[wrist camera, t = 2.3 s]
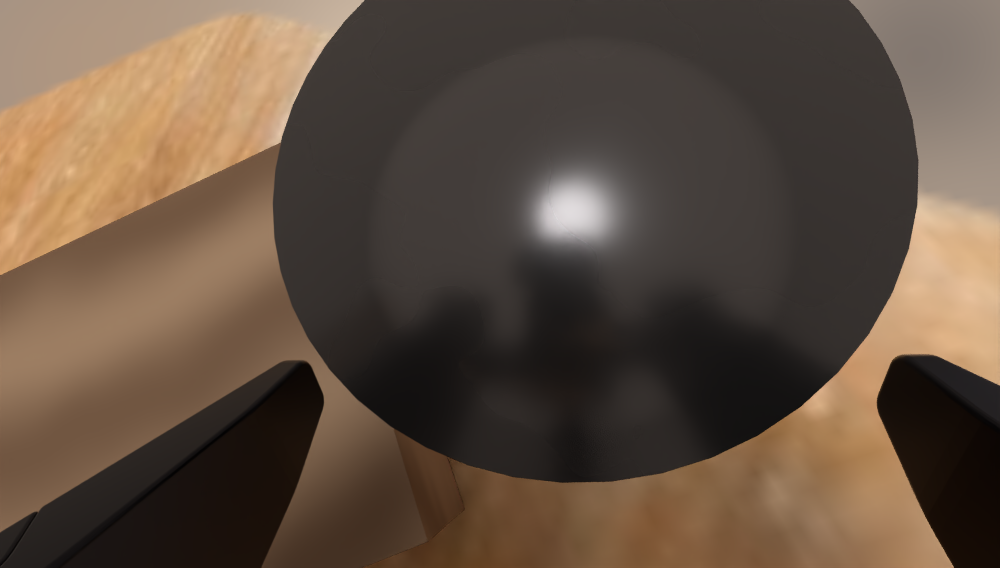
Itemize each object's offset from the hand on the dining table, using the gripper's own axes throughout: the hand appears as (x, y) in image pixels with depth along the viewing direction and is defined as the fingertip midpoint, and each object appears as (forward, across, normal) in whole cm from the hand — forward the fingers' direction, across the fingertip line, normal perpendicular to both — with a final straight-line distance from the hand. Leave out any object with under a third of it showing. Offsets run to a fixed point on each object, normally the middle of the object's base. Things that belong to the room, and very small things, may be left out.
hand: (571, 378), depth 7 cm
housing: (+8, 0, +5) cm, 10 cm away
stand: (+7, +13, +7) cm, 16 cm away
